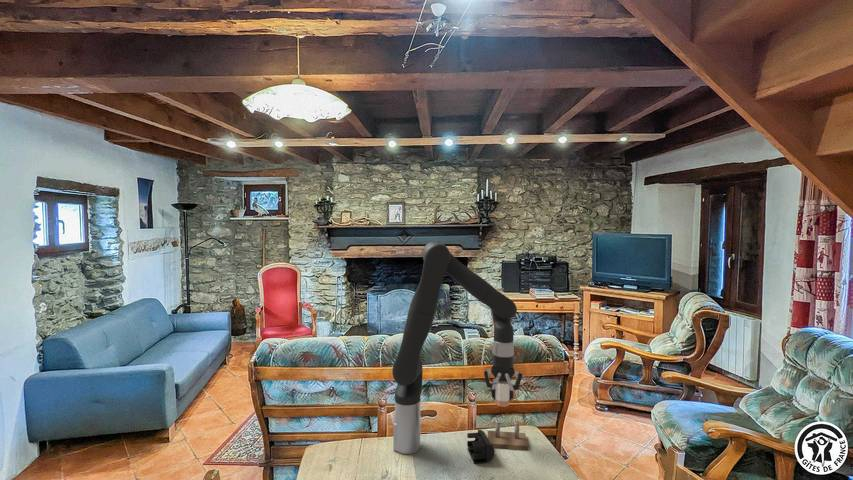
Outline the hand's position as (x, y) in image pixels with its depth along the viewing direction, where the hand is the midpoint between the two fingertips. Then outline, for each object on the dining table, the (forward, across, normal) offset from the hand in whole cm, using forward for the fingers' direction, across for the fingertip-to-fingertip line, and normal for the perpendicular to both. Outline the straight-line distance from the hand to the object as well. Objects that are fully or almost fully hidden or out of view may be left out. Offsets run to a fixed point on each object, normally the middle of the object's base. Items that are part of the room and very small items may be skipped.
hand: (502, 399), depth 142 cm
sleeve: (+2, 0, 0) cm, 2 cm away
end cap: (+17, -7, -8) cm, 20 cm away
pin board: (+17, +2, +2) cm, 17 cm away
